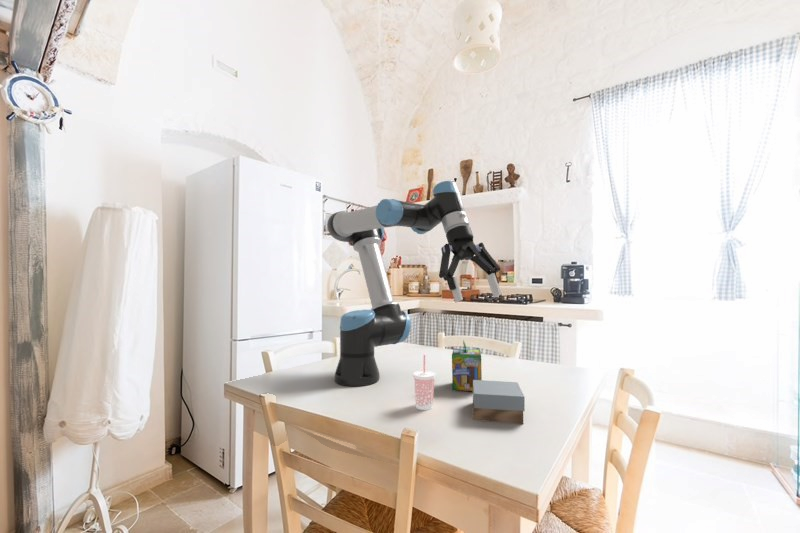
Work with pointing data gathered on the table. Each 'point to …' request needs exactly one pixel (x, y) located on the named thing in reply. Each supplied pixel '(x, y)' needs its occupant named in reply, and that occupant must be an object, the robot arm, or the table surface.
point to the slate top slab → (498, 395)
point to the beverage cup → (424, 388)
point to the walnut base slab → (497, 415)
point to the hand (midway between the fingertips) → (479, 298)
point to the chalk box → (465, 368)
